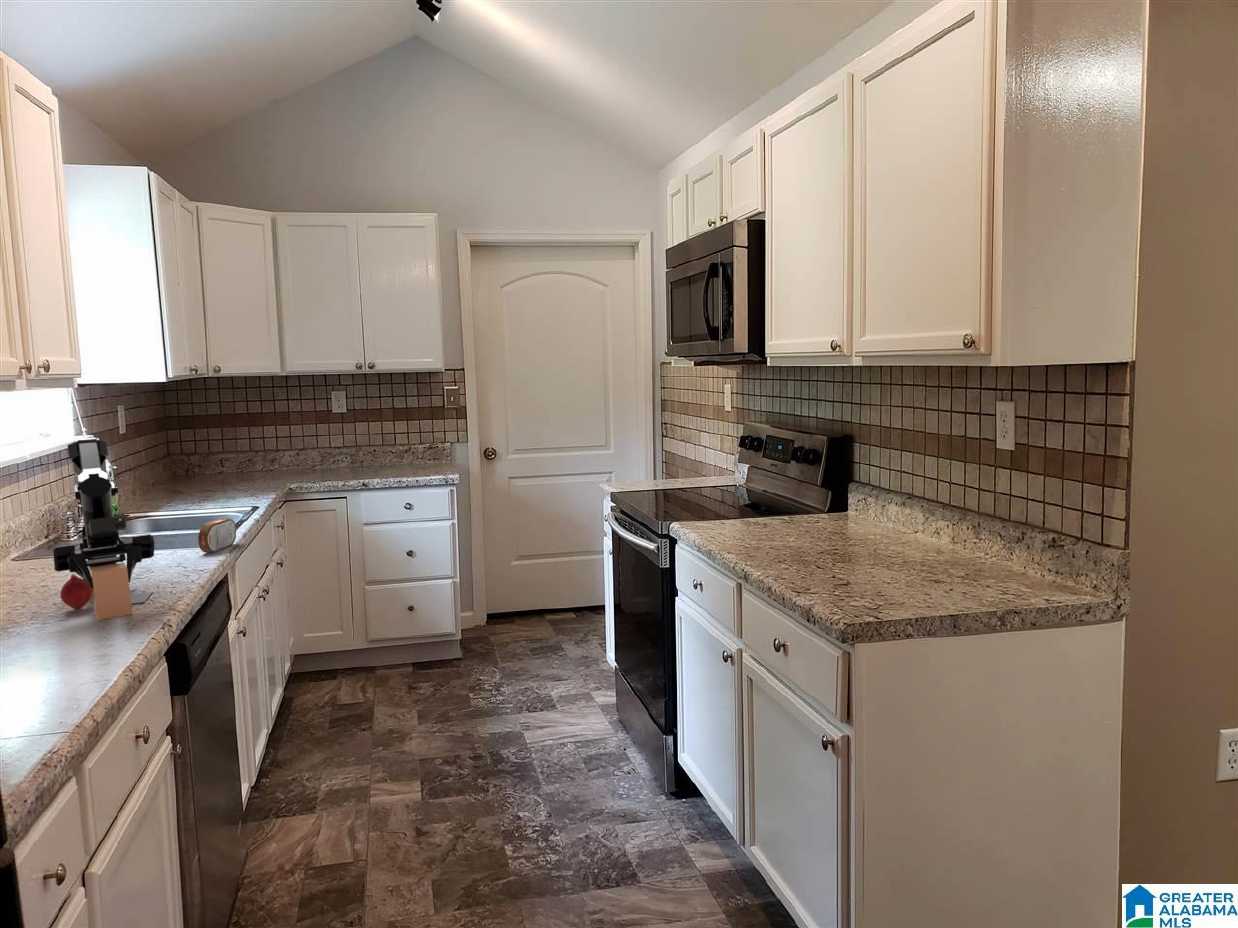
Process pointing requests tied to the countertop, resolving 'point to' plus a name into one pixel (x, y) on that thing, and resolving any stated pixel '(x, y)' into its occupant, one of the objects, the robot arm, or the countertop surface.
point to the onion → (76, 592)
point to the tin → (217, 535)
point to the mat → (139, 597)
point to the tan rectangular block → (111, 591)
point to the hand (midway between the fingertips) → (110, 584)
